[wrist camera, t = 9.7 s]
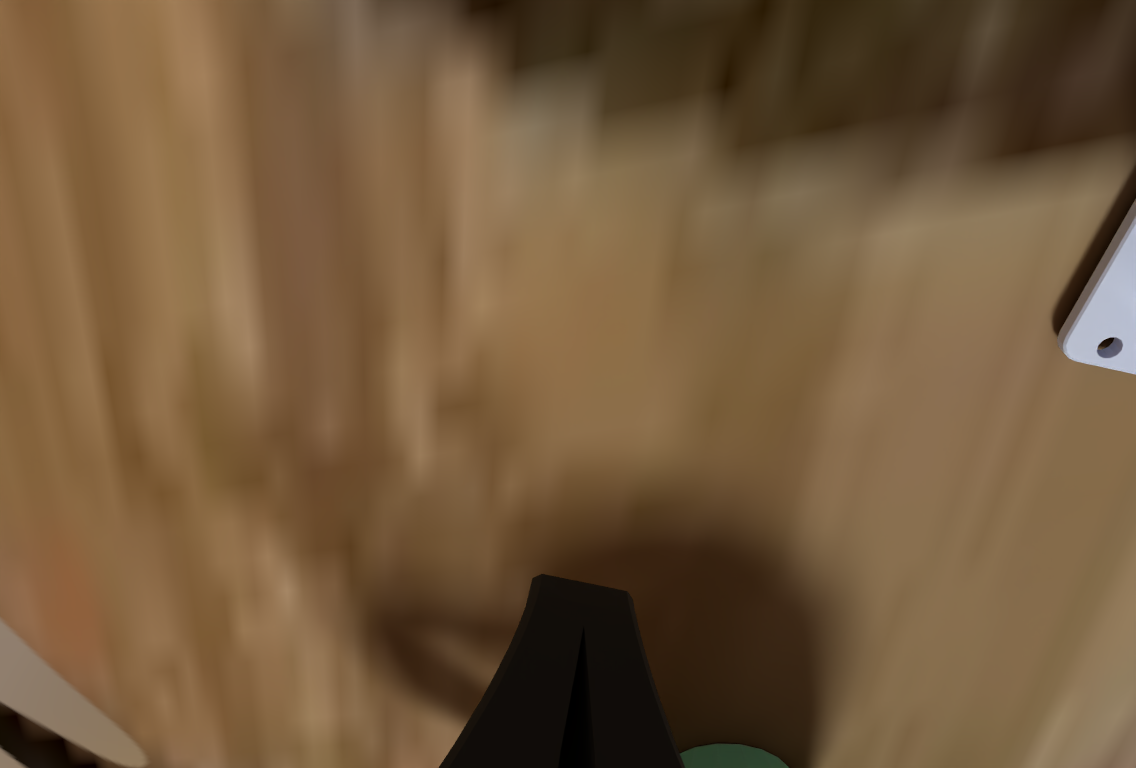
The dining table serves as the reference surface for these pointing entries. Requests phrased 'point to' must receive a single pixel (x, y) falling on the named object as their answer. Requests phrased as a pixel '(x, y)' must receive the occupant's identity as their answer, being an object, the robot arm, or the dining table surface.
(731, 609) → the dining table surface
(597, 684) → the robot arm
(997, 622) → the dining table surface
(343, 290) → the dining table surface
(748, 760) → the mug
